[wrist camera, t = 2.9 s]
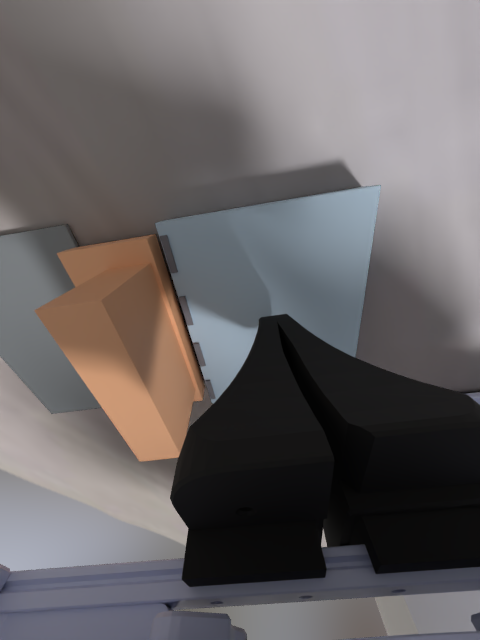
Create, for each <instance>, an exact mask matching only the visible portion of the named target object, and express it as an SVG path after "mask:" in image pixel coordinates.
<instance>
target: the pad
mask: <svg viewBox="0 0 480 640" xmlns="http://www.w3.org/2000/svg"><path fill="white" fill-rule="evenodd" d="M75 247H79V246H78V244H77V242H76V240H75V238H74V236H73V234H72V232H71V230H70V228H69V226H68V224H67V225H61V226H55V227H49V228H43V229H37V230H32V231H26V232H20V233H14V234H8V235H3V236H0V356H1V358H2V359H3V360H4V361H5V362H6V363H7V364H8V365H9V367H10V368H11V369H12V370H13V371H14V372H15V373H16V374H17V376H18V377H19V378H20V379H21V380H22V381H23V382H24V383H25V384H26V386H27V387H28V388H29V389H30V390H31V391H32V392H33V393H34V395H35V396H36V397H37V398H38V399H39V400H40V401H41V402H42V403H43V405H44V406H45V407H46V408H47V409H48V410H49V411H50V412H51V414H54V413H62V412H71V411H79V410H87V409H96V408H102V407H101V405H100V404H99V403H98V401H97V400H96V398H95V397H94V395H93V394H92V393H91V391H90V390H89V388H88V387H87V386H86V384H85V383H84V381H83V380H82V378H81V377H80V376H79V374H78V373H77V371H76V370H75V368H74V367H73V366H72V364H71V363H70V361H69V360H68V358H67V357H66V356H65V354H64V353H63V351H62V350H61V348H60V347H59V346H58V344H57V343H56V341H55V340H54V338H53V337H52V336H51V334H50V333H49V331H48V330H47V328H46V327H45V326H44V324H43V323H42V321H41V320H40V318H39V317H38V316H37V314H36V313H35V311H34V310H36V309H37V308H39V307H41V306H43V305H45V304H46V303H48V302H50V301H52V300H54V299H55V298H57V297H59V296H61V295H63V294H64V293H66V292H68V291H70V290H72V289H73V288H75V286H74V284H73V282H72V280H71V278H70V277H69V275H68V273H67V271H66V269H65V268H64V266H63V264H62V262H61V261H60V259H59V257H58V255H57V253H59V252H62V251H65V250H69V249H72V248H75Z"/></svg>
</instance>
